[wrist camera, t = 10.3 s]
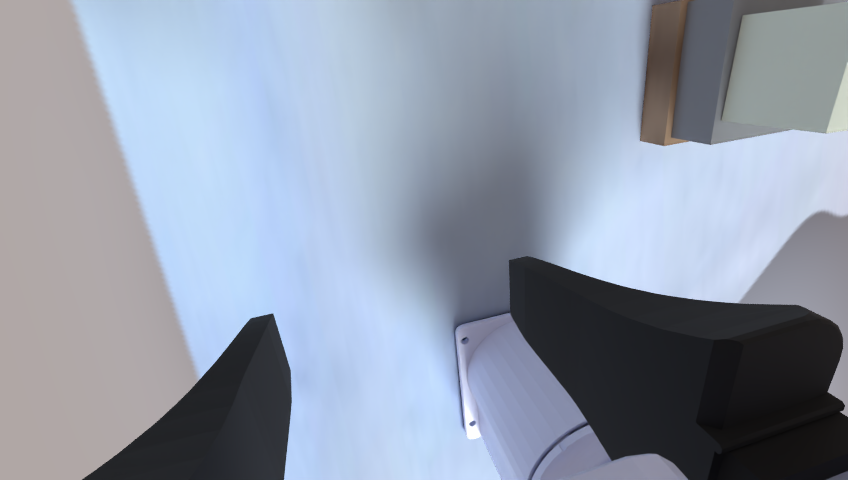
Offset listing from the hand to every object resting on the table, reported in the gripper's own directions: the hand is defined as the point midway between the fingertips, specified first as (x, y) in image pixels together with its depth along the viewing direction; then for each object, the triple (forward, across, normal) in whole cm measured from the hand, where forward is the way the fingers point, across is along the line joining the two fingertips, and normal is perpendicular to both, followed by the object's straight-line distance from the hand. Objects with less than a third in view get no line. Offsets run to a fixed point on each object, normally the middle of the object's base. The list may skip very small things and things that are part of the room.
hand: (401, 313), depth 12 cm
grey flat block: (+8, -20, -5) cm, 22 cm away
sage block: (+6, -20, -5) cm, 21 cm away
